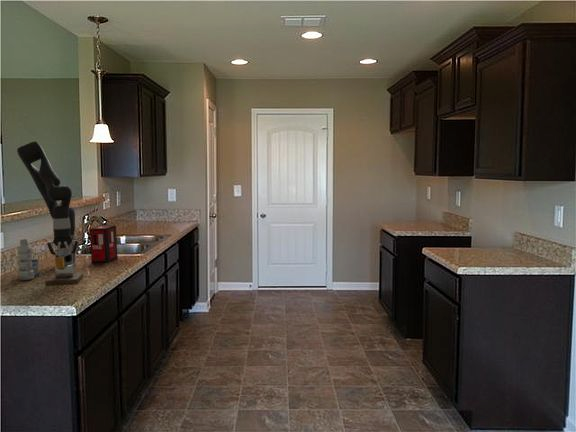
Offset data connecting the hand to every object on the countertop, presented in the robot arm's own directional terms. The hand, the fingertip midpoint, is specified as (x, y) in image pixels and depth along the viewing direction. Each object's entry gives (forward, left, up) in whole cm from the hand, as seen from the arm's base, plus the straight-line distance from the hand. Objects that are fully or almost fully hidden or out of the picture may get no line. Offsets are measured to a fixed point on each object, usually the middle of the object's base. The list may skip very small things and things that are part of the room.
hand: (64, 262), depth 239 cm
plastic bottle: (-8, -19, -9) cm, 23 cm away
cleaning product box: (-50, +12, -10) cm, 52 cm away
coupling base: (0, 0, -9) cm, 9 cm away
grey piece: (0, 0, -7) cm, 7 cm away
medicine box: (-16, -20, -10) cm, 27 cm away
